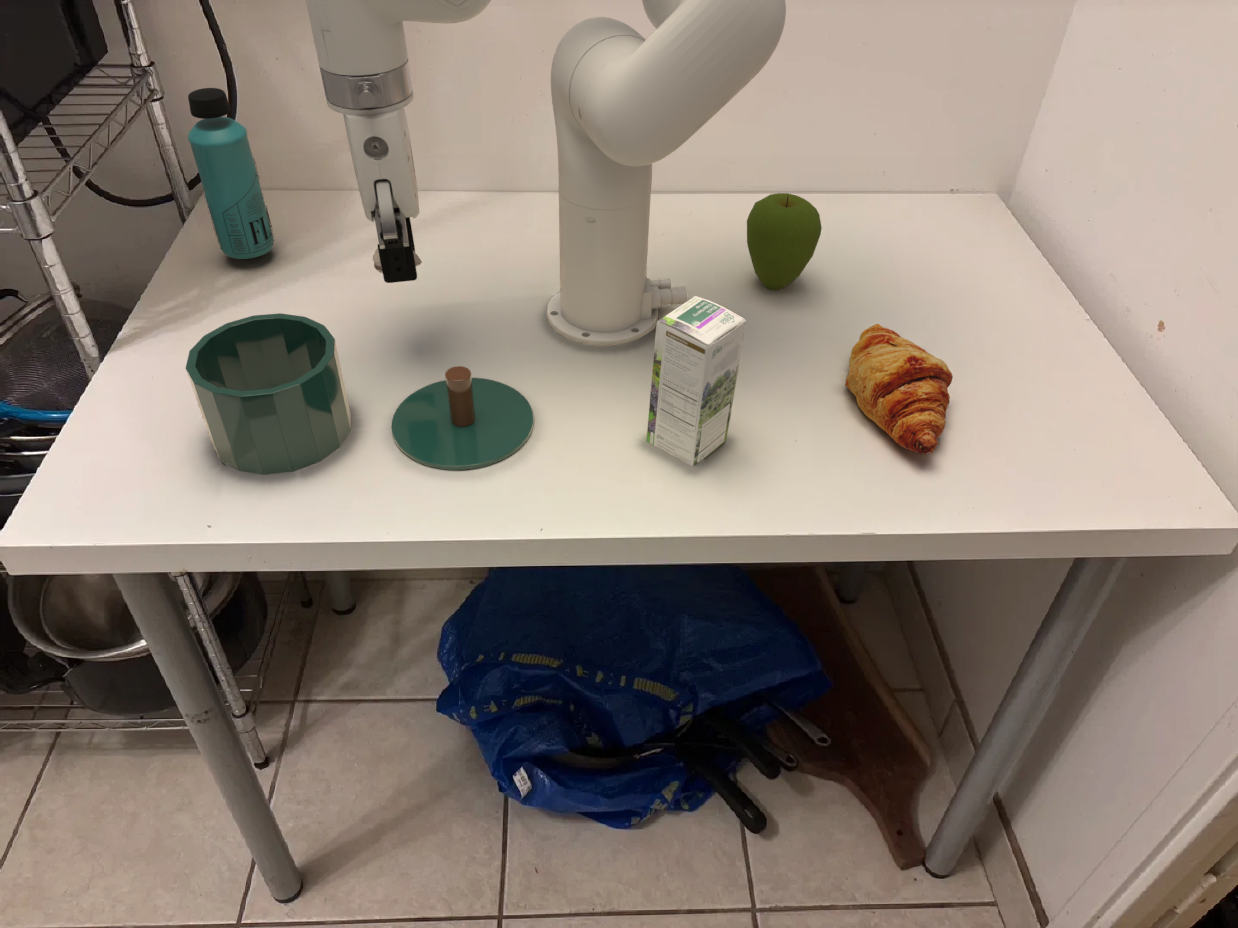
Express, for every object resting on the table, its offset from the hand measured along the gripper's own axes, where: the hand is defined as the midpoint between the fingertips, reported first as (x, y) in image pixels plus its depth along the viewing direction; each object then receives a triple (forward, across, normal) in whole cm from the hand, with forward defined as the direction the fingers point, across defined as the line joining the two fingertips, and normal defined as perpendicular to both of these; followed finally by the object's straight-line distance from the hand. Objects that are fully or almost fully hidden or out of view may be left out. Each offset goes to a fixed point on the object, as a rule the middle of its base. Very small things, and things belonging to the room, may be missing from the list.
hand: (400, 265), depth 93 cm
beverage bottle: (+10, +23, +19) cm, 31 cm away
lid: (+10, -14, -4) cm, 18 cm away
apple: (+12, +7, -43) cm, 45 cm away
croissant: (+12, -17, -48) cm, 52 cm away
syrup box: (+11, -20, -25) cm, 34 cm away
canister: (+10, -12, +13) cm, 20 cm away
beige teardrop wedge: (+1, 0, 0) cm, 1 cm away
